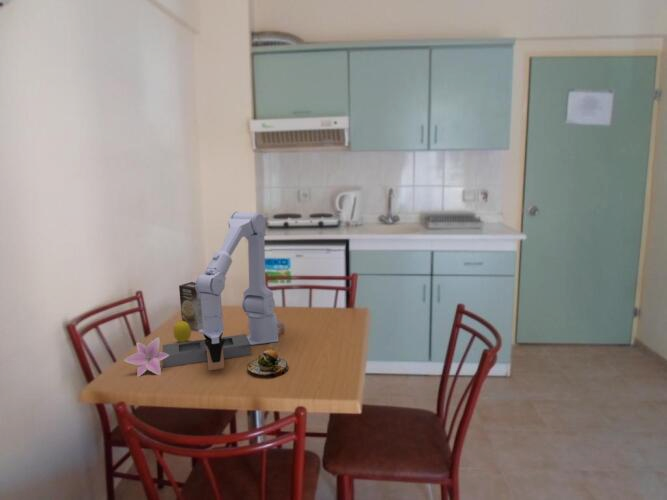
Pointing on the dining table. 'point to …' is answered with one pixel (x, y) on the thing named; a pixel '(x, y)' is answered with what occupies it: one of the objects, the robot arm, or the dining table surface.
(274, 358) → the burger
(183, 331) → the lemon
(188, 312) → the coffee box
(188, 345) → the grey slotted board
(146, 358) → the lily
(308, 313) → the dining table surface
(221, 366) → the peg
